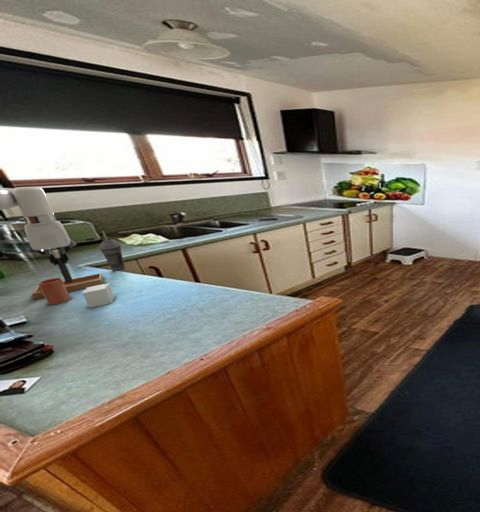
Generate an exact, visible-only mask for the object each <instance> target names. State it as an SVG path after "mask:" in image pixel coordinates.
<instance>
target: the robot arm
mask: <svg viewBox="0 0 480 512" xmlns="http://www.w3.org/2000/svg"><path fill="white" fill-rule="evenodd" d="M18 207H19V210H20V212H21V214H22V217H21V218H18V222H19V223H25V224H24V231H25V236H26V238H27V241H28V243H29V246H30V248H29V253H31V254H32V253H33V254H40V255H43V256H45V257H48V258H47V259H48V260H49V262H50V264H53V266H58V264H57V262H56V260H55V258H54V256H53V254H52V252H51V249H56V248H59V249H58V250H59V251H60V253H61V257H62V260H63V262H64V263H65V264H68V261H70V259H69V256H68V253H67V252H68V251H69V250H70V249H72V248H74V247H77V243H76V242H75V241H74V240H72V239H71V237H70V235H69V233H68V232H67V230H66V227H64V225H63V224H62V222H61V221H60V220H57V218H56V215H55V213H54V211H53V209H52V207H51V204H50V202H49V200H48V198H47V195H46V193H45V190H44V189H43V188H42V187H39V186H23V187H17V188H16V187H14V188H13V187H12V188H11V187H0V211H3V210H7V209H11V208H12V209H13V208H18Z"/></svg>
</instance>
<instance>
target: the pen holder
mask: <svg viewBox="0 0 480 512" xmlns="http://www.w3.org/2000/svg"><path fill="white" fill-rule="evenodd" d="M63 281H64V280H63V278H62V277H53V278H49V279H44V280H41V281H40V282H38V283H37V285H38V286H40V288H41V290H42V292H43V294H44V296H45V297H44V299H45V300H46V302H47V304H48V305H59V304H62V303H66V302H67V301H70V300H72V299H71V295H70V293H69V292H68V291H67V288H66V286H65V284H64V282H63Z"/></svg>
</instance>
